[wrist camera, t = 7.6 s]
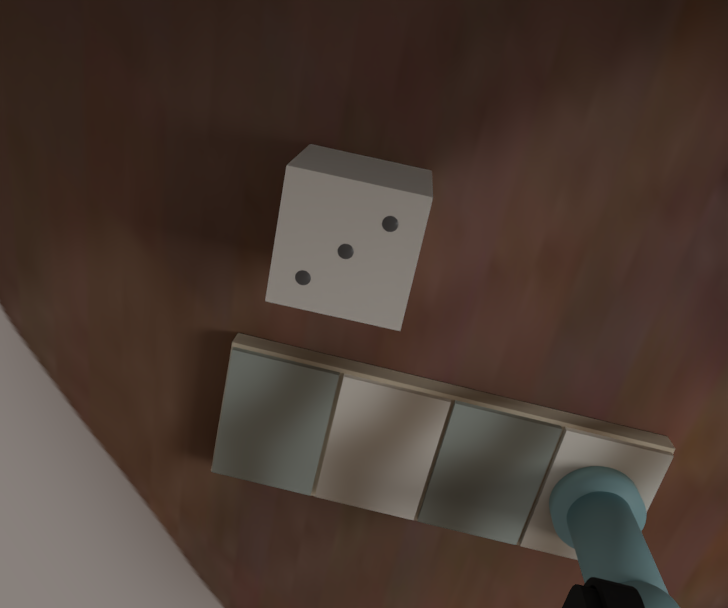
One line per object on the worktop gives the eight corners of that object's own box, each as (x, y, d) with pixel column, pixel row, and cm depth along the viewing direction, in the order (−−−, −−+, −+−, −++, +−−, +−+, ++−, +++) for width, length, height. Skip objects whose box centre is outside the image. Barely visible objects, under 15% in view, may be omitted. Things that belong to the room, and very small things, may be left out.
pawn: (653, 477, 30) (738, 639, 22) (620, 546, 31) (688, 721, 23) (565, 457, 30) (618, 611, 22) (537, 526, 31) (576, 695, 23)
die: (431, 170, 27) (433, 198, 22) (404, 286, 29) (399, 334, 24) (308, 142, 27) (282, 165, 22) (288, 260, 29) (261, 304, 24)
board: (667, 436, 30) (677, 452, 29) (612, 553, 33) (619, 573, 32) (238, 332, 30) (230, 345, 29) (216, 458, 33) (209, 474, 32)
